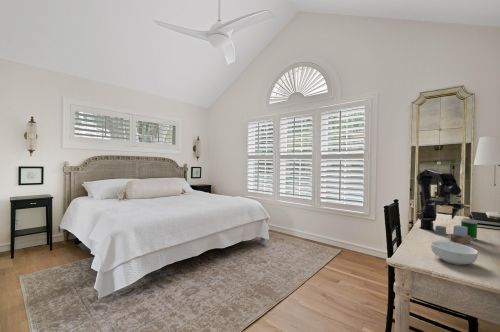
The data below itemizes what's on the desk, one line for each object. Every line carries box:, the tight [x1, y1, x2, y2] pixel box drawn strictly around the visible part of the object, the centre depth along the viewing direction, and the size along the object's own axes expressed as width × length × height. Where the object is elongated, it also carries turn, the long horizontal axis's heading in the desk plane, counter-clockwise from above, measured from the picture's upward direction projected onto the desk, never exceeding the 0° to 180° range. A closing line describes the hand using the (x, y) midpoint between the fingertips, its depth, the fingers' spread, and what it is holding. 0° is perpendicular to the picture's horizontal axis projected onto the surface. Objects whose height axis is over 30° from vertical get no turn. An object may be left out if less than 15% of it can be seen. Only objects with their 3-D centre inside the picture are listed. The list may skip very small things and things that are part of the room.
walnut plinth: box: [449, 233, 471, 245], centre depth 144 cm, size 7×7×4 cm
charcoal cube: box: [434, 225, 447, 236], centre depth 159 cm, size 5×5×5 cm
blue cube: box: [452, 224, 468, 237], centre depth 144 cm, size 5×5×5 cm
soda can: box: [460, 217, 478, 241], centre depth 151 cm, size 8×8×12 cm
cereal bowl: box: [430, 240, 479, 266], centre depth 114 cm, size 17×17×7 cm
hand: (443, 217), depth 153 cm, fingers open, 9 cm apart
